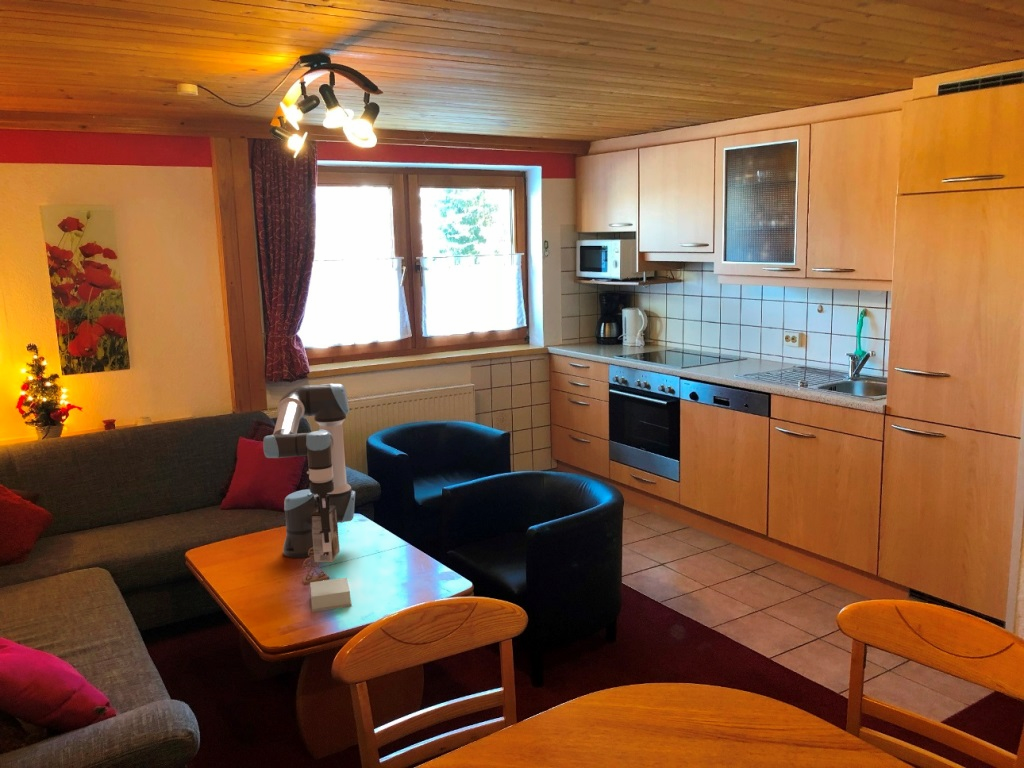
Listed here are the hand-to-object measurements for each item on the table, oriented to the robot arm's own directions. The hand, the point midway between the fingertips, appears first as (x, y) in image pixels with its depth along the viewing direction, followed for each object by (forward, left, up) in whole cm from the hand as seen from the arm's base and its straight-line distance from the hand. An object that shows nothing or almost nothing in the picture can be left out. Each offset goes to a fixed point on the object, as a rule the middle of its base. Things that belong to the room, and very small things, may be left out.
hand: (326, 545), depth 265 cm
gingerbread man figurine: (-20, -4, -19) cm, 28 cm away
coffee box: (0, 0, -4) cm, 4 cm away
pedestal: (0, 0, -19) cm, 19 cm away
